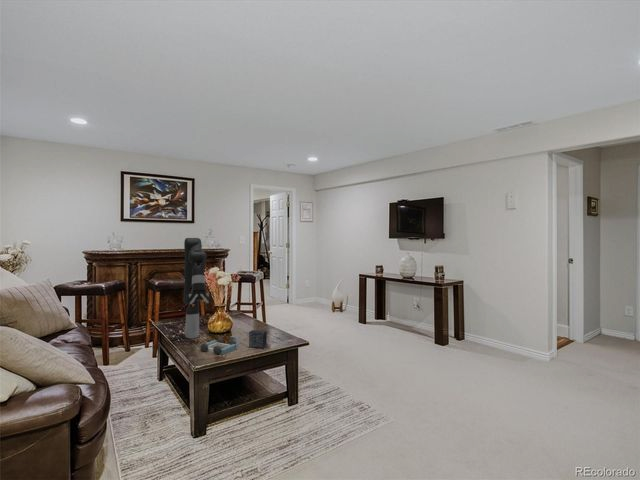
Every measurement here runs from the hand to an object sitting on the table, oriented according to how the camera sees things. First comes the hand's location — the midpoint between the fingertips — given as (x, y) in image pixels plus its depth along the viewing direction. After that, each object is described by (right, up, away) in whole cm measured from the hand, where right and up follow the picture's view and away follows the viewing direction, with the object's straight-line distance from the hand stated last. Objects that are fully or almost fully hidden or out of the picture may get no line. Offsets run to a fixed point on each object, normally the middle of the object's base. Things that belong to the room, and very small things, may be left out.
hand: (199, 310), depth 207 cm
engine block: (+12, -30, +37) cm, 49 cm away
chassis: (+4, -30, +24) cm, 39 cm away
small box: (+29, -31, +30) cm, 52 cm away
